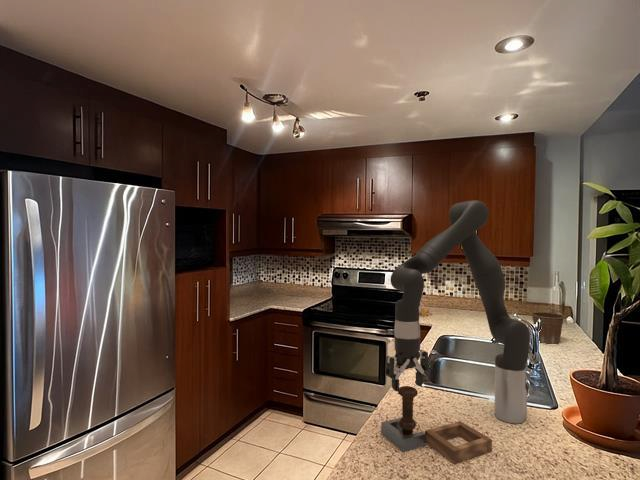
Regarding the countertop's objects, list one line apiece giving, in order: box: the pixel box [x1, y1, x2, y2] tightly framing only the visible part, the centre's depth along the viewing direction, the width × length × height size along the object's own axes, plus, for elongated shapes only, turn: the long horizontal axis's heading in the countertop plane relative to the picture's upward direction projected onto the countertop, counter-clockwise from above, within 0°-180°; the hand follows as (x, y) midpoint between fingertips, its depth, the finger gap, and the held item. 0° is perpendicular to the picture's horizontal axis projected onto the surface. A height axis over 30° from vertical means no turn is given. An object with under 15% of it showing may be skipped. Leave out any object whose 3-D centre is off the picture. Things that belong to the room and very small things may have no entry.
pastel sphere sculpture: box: [419, 306, 433, 318], centre depth 291 cm, size 25×24×9 cm
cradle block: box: [380, 416, 427, 453], centre depth 117 cm, size 8×11×4 cm
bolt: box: [397, 385, 419, 436], centre depth 118 cm, size 6×5×15 cm
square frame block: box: [424, 420, 493, 465], centre depth 113 cm, size 14×12×4 cm
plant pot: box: [531, 311, 566, 345], centre depth 220 cm, size 16×16×16 cm
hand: (407, 387), depth 118 cm, fingers open, 8 cm apart
